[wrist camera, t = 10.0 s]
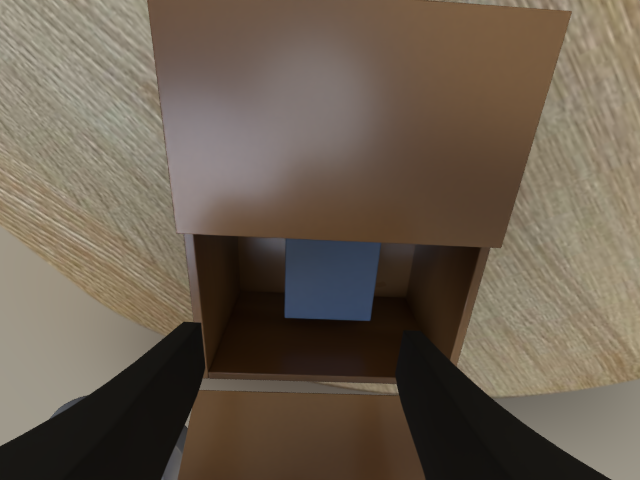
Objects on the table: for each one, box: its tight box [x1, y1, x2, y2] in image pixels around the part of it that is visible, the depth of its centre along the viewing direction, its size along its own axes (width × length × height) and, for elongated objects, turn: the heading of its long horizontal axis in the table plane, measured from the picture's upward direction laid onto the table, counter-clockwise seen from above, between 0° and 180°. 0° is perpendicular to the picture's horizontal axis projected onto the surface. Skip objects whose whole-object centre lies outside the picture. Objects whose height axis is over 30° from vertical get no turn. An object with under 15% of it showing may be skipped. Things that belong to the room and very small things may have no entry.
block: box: [284, 238, 381, 321], centre depth 18 cm, size 4×4×4 cm
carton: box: [147, 0, 572, 384], centre depth 15 cm, size 15×12×8 cm
